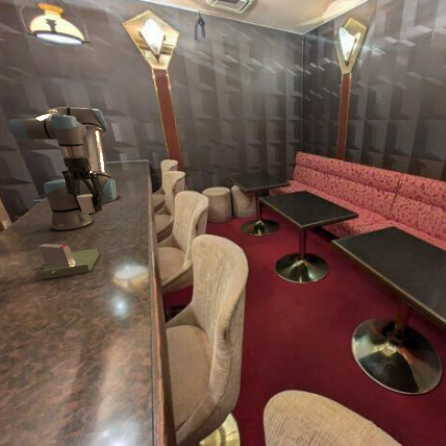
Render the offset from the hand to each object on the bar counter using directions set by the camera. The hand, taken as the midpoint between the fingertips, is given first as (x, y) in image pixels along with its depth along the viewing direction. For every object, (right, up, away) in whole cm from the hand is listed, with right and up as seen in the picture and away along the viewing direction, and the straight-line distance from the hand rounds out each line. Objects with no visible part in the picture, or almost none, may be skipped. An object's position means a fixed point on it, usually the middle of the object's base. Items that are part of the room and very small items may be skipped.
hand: (90, 210), depth 108 cm
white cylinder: (0, 0, 0) cm, 1 cm away
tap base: (+8, -22, -19) cm, 31 cm away
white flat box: (+8, -20, -22) cm, 31 cm away
